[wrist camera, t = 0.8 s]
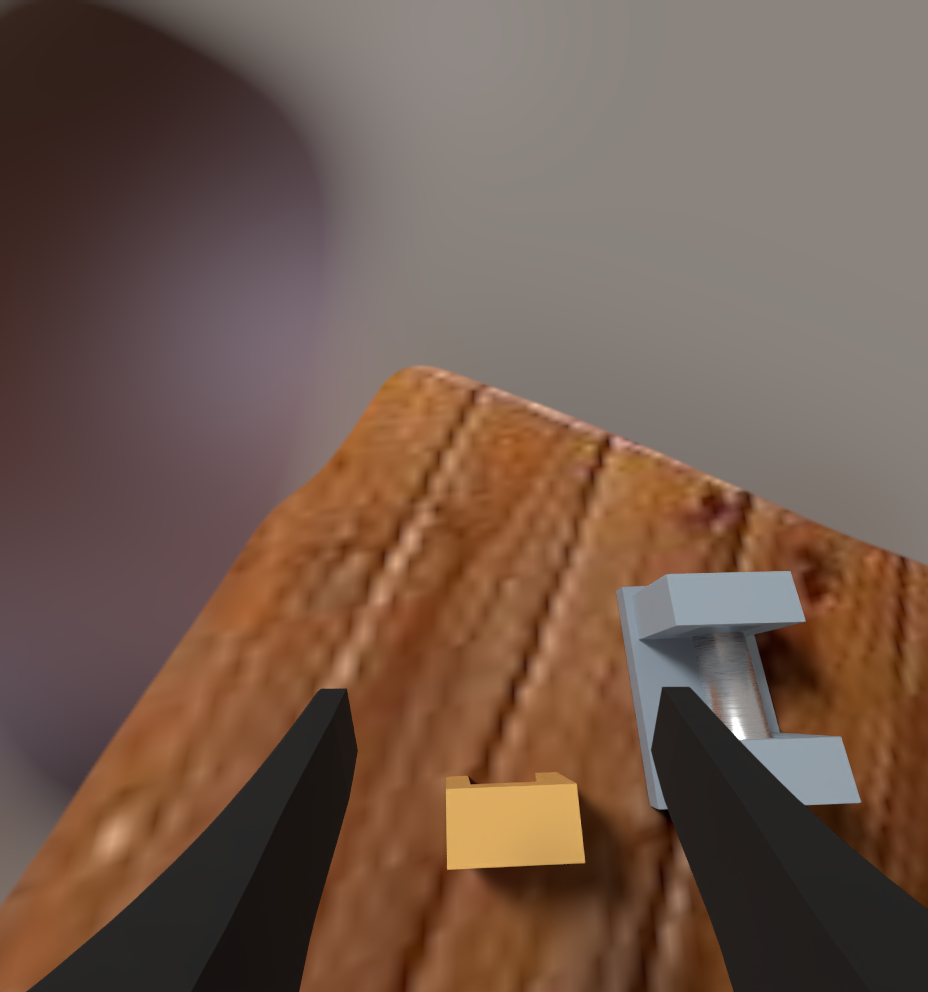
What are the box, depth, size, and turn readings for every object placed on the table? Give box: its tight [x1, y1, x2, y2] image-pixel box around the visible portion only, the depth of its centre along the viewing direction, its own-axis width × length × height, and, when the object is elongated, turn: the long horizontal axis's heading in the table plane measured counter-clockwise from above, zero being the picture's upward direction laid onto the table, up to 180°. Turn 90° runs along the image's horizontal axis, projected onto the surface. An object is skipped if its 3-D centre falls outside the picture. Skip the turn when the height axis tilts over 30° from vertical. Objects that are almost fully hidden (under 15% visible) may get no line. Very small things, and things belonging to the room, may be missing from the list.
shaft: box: [692, 632, 771, 739], centre depth 20 cm, size 12×3×3 cm, turn 2°
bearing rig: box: [616, 571, 861, 809], centre depth 22 cm, size 10×6×6 cm, turn 2°
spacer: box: [446, 772, 585, 870], centre depth 21 cm, size 3×5×4 cm, turn 92°
